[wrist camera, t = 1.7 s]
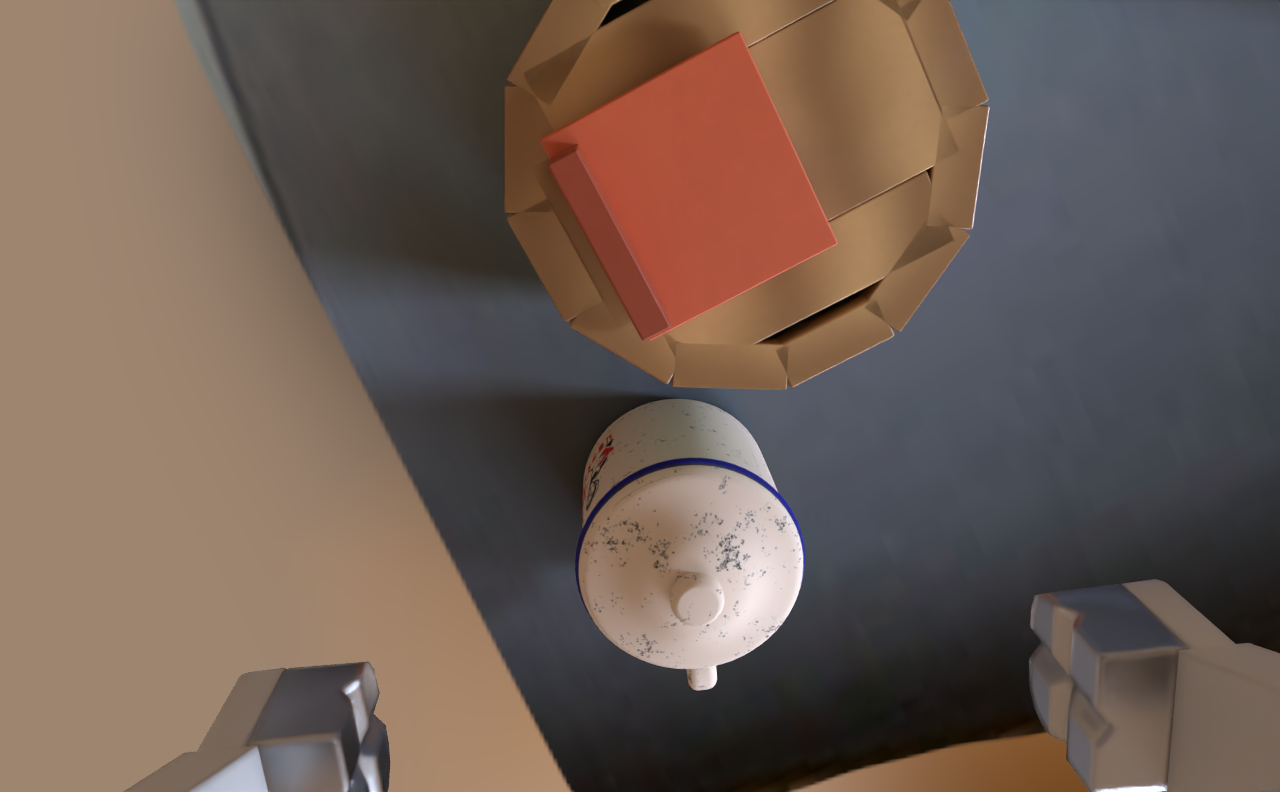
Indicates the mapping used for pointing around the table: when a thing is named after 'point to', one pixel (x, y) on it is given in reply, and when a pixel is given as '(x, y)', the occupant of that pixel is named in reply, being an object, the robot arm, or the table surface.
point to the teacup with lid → (685, 539)
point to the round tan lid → (826, 146)
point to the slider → (689, 188)
